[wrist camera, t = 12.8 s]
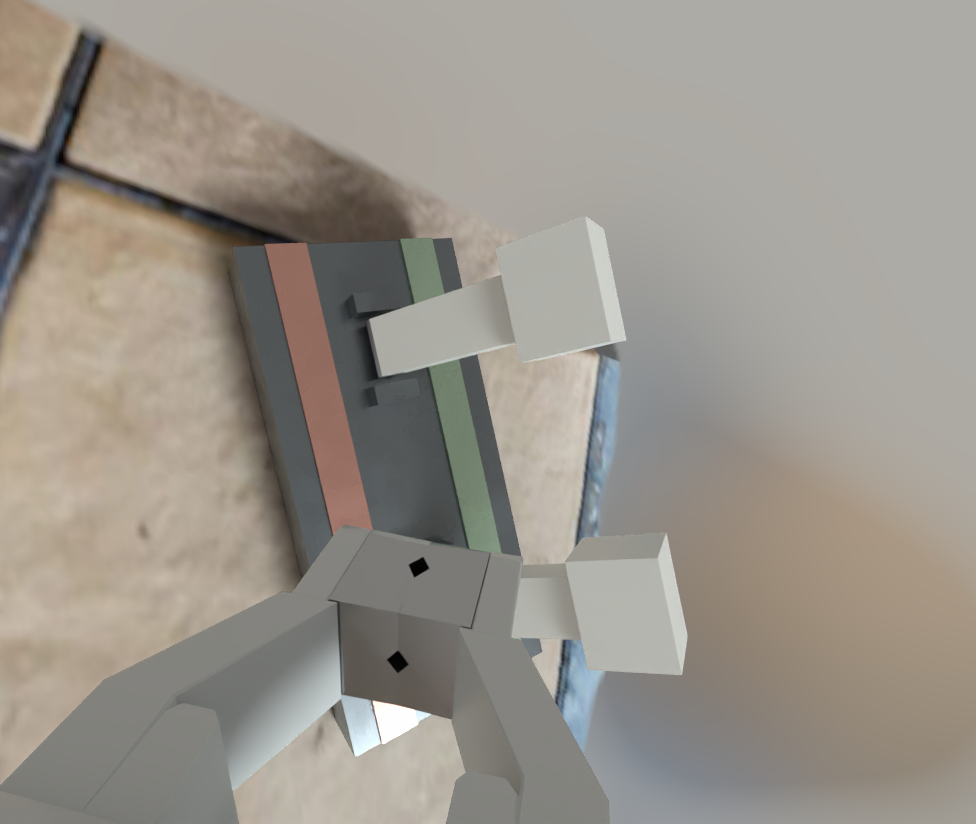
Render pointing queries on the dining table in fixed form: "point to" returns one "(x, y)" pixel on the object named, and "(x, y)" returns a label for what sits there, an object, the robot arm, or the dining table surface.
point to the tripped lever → (609, 604)
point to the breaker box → (368, 415)
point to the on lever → (512, 306)
